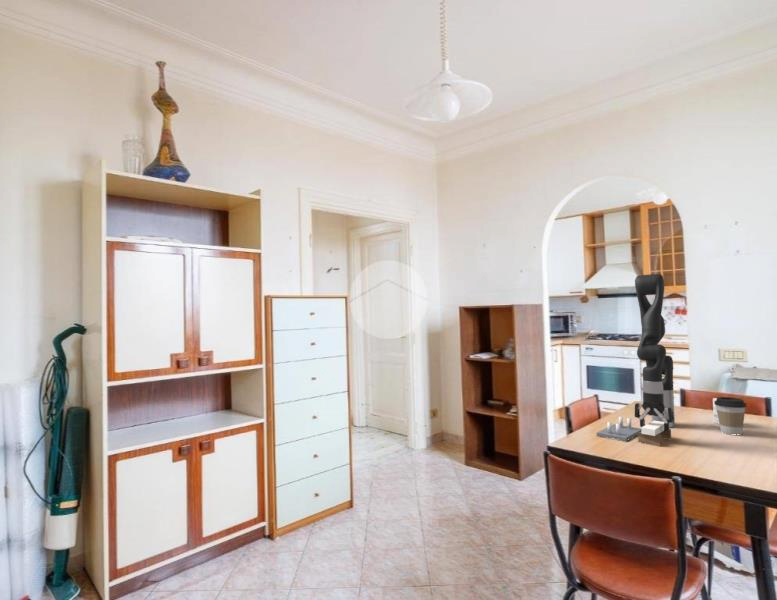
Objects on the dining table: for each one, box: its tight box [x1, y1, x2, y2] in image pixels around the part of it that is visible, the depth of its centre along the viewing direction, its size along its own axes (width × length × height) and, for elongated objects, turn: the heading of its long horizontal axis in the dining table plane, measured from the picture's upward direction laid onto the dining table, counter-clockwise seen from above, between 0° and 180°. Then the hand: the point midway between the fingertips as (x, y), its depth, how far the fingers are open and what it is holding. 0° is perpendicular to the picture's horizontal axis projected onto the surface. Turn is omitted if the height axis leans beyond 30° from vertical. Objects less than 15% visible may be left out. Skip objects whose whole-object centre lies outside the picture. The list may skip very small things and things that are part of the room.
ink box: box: [712, 397, 720, 425], centre depth 206 cm, size 9×5×12 cm, turn 179°
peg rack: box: [596, 416, 641, 442], centre depth 195 cm, size 20×12×6 cm, turn 132°
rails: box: [637, 428, 672, 447], centre depth 184 cm, size 15×8×4 cm, turn 132°
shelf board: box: [640, 420, 664, 436], centre depth 185 cm, size 16×5×2 cm, turn 132°
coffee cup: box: [714, 396, 747, 436], centre depth 193 cm, size 11×11×15 cm
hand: (654, 430), depth 184 cm, fingers open, 8 cm apart
